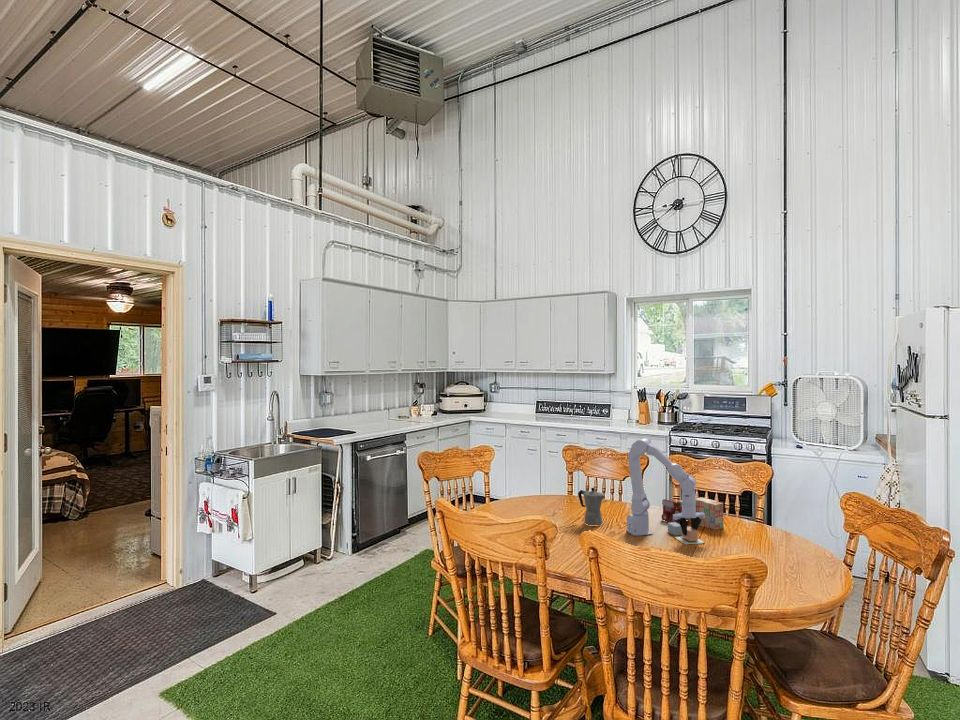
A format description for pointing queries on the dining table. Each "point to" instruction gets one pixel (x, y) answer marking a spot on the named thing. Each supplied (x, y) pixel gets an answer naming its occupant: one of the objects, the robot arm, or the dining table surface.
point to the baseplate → (689, 541)
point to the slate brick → (674, 528)
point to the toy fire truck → (670, 510)
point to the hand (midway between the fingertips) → (689, 534)
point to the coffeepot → (592, 506)
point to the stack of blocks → (709, 512)
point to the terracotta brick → (691, 534)
